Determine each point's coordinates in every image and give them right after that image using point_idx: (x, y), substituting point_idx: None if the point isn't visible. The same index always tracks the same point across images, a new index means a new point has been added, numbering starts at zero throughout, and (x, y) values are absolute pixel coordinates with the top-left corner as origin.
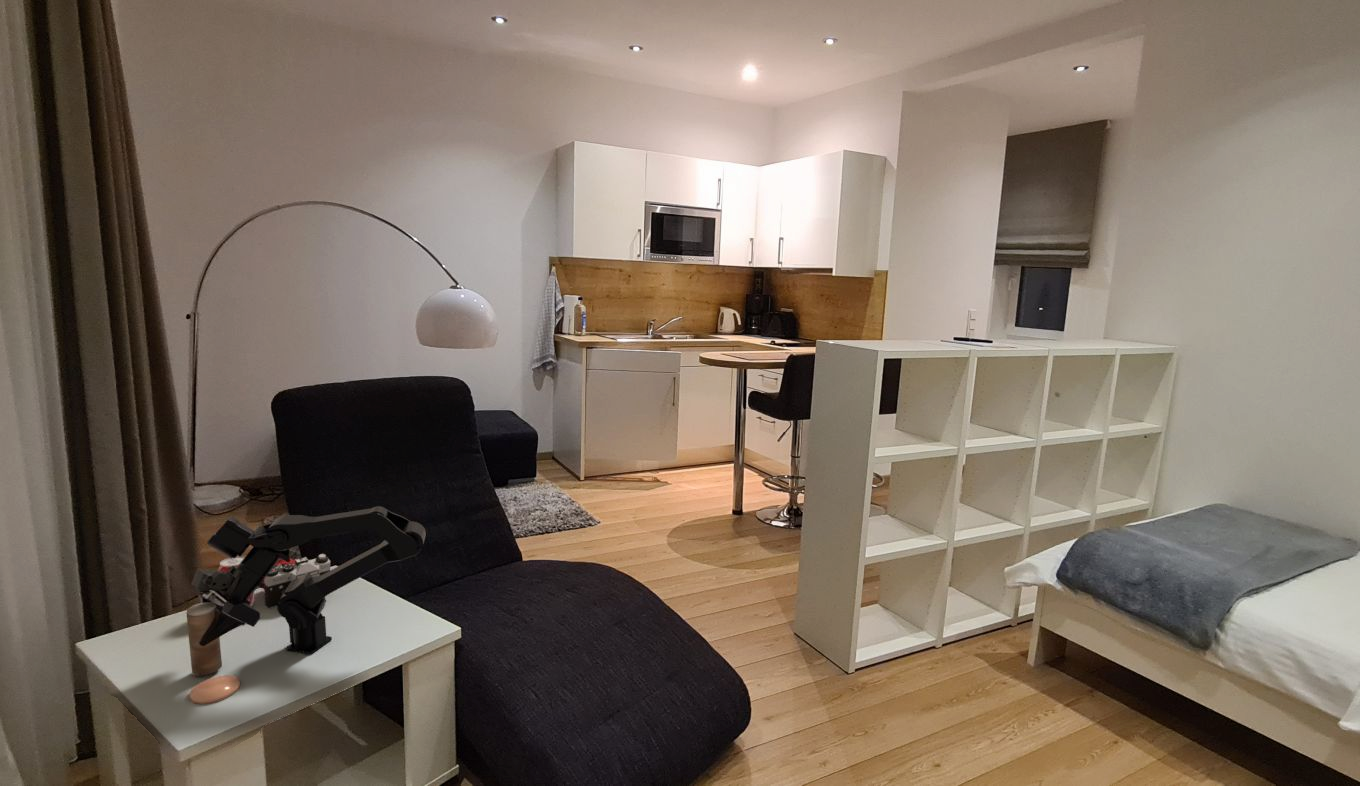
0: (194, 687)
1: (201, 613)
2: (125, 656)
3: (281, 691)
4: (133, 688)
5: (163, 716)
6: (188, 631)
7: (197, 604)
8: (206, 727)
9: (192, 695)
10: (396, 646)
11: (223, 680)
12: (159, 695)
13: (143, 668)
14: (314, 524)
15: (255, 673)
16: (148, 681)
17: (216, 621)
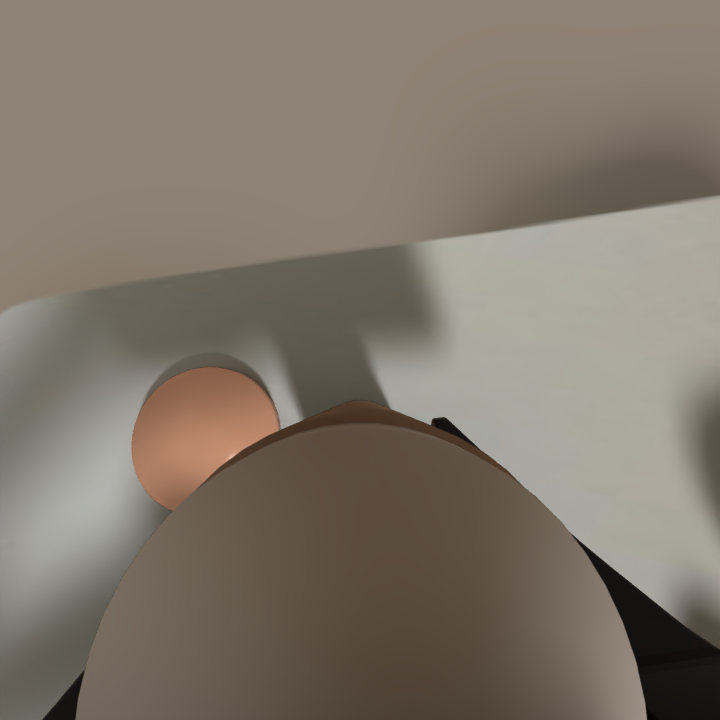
0: (254, 387)
1: (97, 644)
2: (640, 265)
3: (43, 613)
4: (405, 257)
5: (179, 296)
6: (352, 405)
7: (614, 681)
8: (26, 374)
9: (204, 373)
10: None
11: None
12: (309, 305)
13: (519, 295)
14: None
15: None
16: (421, 294)
17: (73, 698)
